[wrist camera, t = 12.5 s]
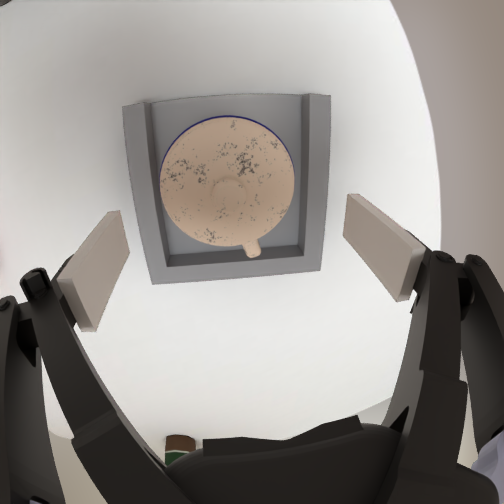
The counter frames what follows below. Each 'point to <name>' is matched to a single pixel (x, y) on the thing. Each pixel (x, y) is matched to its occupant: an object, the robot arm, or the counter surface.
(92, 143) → the counter surface
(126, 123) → the shallow gray tray
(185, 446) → the beer bottle
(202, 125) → the teacup with lid
